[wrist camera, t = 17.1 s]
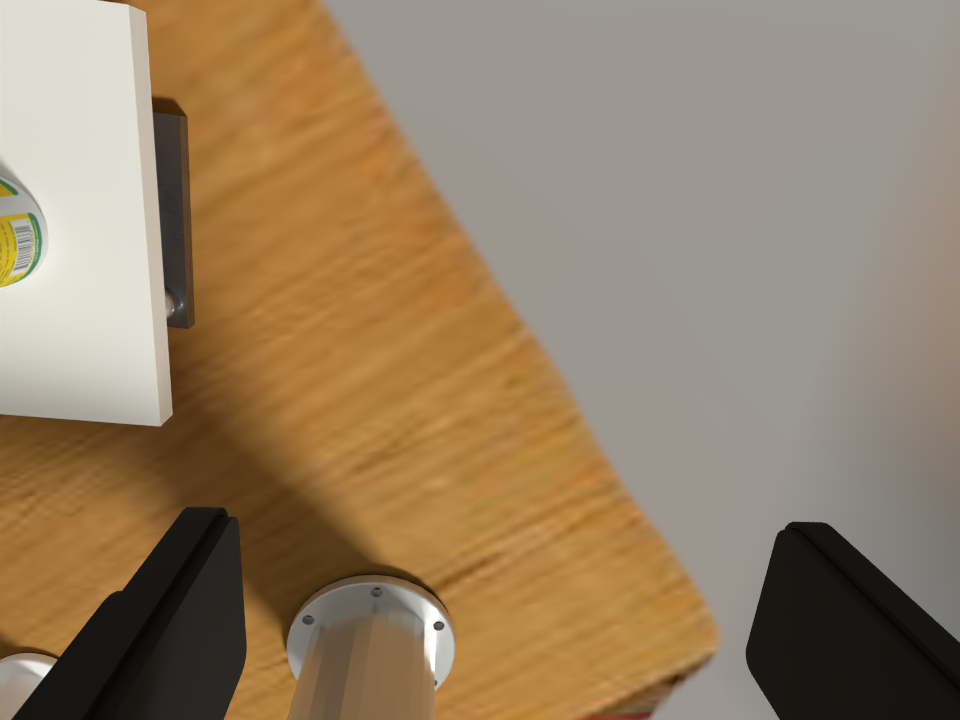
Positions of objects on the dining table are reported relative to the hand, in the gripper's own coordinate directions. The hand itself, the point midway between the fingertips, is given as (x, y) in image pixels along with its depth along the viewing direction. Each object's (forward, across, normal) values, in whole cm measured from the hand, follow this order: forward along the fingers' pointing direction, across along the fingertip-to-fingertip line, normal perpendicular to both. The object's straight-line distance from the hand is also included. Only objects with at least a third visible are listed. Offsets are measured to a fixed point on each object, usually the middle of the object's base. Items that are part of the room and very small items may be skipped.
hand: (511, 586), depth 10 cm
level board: (+22, +22, -3) cm, 32 cm away
